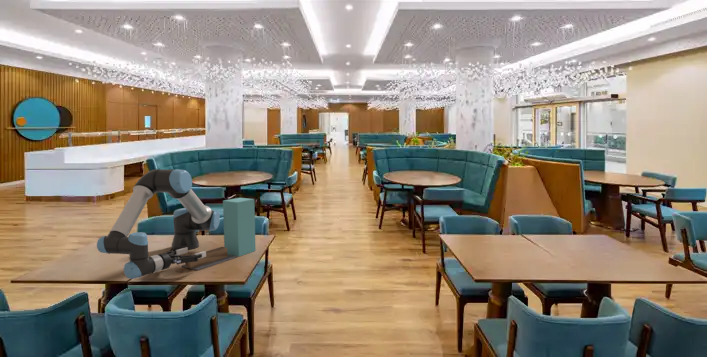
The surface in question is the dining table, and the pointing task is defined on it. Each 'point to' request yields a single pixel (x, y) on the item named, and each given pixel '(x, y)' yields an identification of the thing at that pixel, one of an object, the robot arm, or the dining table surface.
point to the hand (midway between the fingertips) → (196, 251)
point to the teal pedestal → (239, 226)
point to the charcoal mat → (212, 263)
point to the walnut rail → (209, 257)
